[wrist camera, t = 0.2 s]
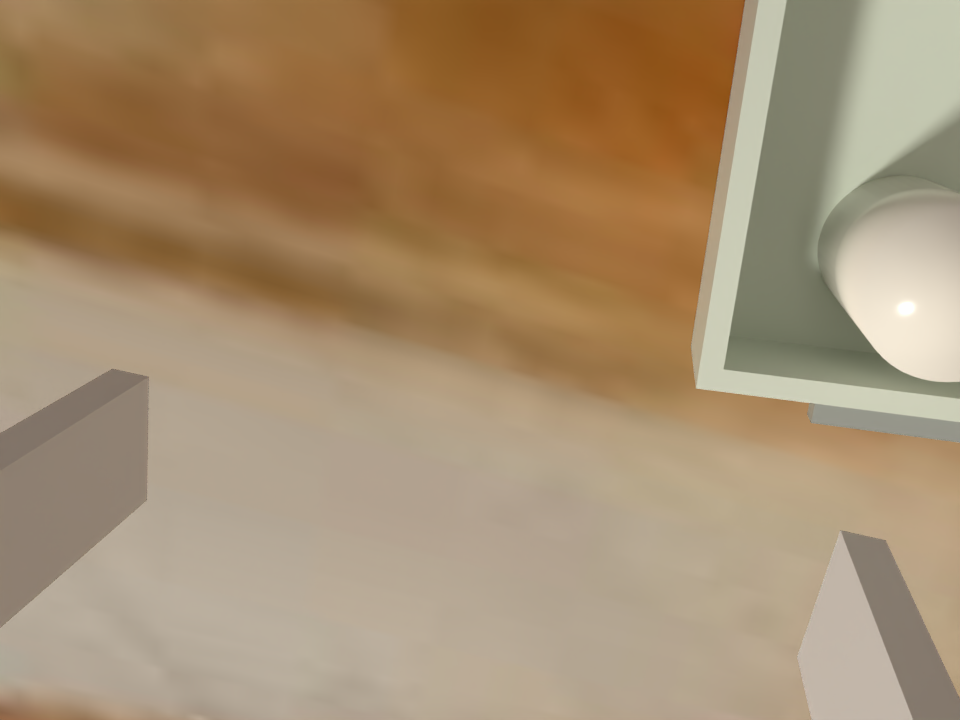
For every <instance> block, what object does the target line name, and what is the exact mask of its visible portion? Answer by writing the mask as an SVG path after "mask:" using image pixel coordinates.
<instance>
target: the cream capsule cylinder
mask: <svg viewBox="0 0 960 720" xmlns="http://www.w3.org/2000/svg"><path fill="white" fill-rule="evenodd" d="M817 258H818V265H819V269H820V272H821V276H822V278H823V280H824V282H825V284H826V285H827V287H828V288H829V290H830V291H831V292H832V294H833V295H834V296H835V298H836V299H837V300H838V302H839V303H840V304H841V305H842V307H843V308H844V309H845V311H846V312H847V313H848V315H849V316H850V317H851V319H852V320H853V321H854V322H855V324H856V325H857V326H858V328H859V329H860V330H861V332H862V333H863V334H864V335H865V337H866V338H867V339H868V341H869V342H870V343H871V345H872V346H873V347H874V349H875V350H876V351H877V352H878V353H879V354H880V355H881V356H882V358H884V359H885V360H886V361H887V362H888V363H890V364H891V365H892V366H894V367H895V368H897V369H899V370H900V371H902V372H904V373H907V374H909V375H911V376H914V377H917V378H920V379H924V380H929V381H935V382H960V193H959V192H956V191H954V190H952V189H949V188H947V187H944V186H942V185H940V184H937V183H935V182H933V181H930V180H928V179H924V178H921V177H916V176H909V175H896V176H887V177H883V178H878V179H875V180H873V181H870V182H867V183H865V184H863V185H861V186H859V187H858V188H856V189H854V190H853V191H851V192H850V193H849V194H847V195H846V196H845V197H844V198H843V199H842V200H841V201H840V202H839V203H838V204H837V205H836V206H835V207H834V208H833V210H832V211H831V212H830V214H829V216H828V217H827V219H826V221H825V223H824V225H823V227H822V230H821V233H820V237H819V240H818V248H817Z"/></svg>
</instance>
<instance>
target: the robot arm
mask: <svg viewBox="0 0 960 720" xmlns="http://www.w3.org/2000/svg"><path fill="white" fill-rule="evenodd" d="M148 389H149V377H147V376H143V375H138V374H134V373H129V372H125V371H120V370H116V369H111V370H109V371H108V372H106V373H104V374H103V375H101V376H99V377H97V378H96V379H94V380H92V381H90V382H89V383H87V384H85V385H83V386H82V387H80V388H78V389H76V390H75V391H73V392H71V393H70V394H68V395H66V396H64V397H63V398H61V399H59V400H57V401H56V402H54V403H52V404H50V405H49V406H47V407H45V408H43V409H42V410H40V411H38V412H36V413H35V414H33V415H31V416H30V417H28V418H26V419H24V420H23V421H21V422H19V423H17V424H16V425H14V426H12V427H10V428H9V429H7V430H5V431H3V432H2V433H0V628H1V627H2V626H3V625H4V624H5V623H6V622H7V621H9V620H10V619H11V618H12V617H13V616H14V615H16V614H17V613H18V612H19V611H20V610H21V609H22V608H24V607H25V606H26V605H27V604H28V603H29V602H30V601H32V600H33V599H34V598H35V597H36V596H37V595H38V594H40V593H41V592H42V591H43V590H44V589H45V588H47V587H48V586H49V585H50V584H51V583H52V582H53V581H55V580H56V579H57V578H58V577H59V576H60V575H61V574H63V573H64V572H65V571H66V570H67V569H68V568H69V567H71V566H72V565H73V564H74V563H75V562H76V561H78V560H79V559H80V558H81V557H82V556H83V555H84V554H86V553H87V552H88V551H89V550H90V549H91V548H92V547H94V546H95V545H96V544H97V543H98V542H99V541H100V540H102V539H103V538H104V537H105V536H106V535H107V534H109V533H110V532H111V531H112V530H113V529H114V528H115V527H117V526H118V525H119V524H120V523H121V522H122V521H123V520H125V519H126V518H127V517H128V516H129V515H130V514H131V513H133V512H134V511H135V510H136V509H137V508H138V507H140V506H141V505H142V504H143V503H144V502H145V501H146V500H147V459H148ZM797 658H798V662H799V667H800V671H801V675H802V680H803V684H804V688H805V693H806V697H807V701H808V706H809V710H810V714H811V719H812V720H960V698H959V696H958V694H957V692H956V690H955V688H954V686H953V683H952V681H951V679H950V677H949V675H948V673H947V671H946V669H945V666H944V664H943V662H942V660H941V658H940V656H939V654H938V651H937V649H936V647H935V645H934V643H933V641H932V639H931V636H930V634H929V632H928V630H927V628H926V626H925V624H924V622H923V619H922V617H921V615H920V613H919V611H918V609H917V607H916V604H915V602H914V600H913V598H912V596H911V594H910V592H909V590H908V587H907V585H906V583H905V581H904V579H903V577H902V575H901V572H900V570H899V568H898V566H897V564H896V562H895V560H894V557H893V555H892V553H891V551H890V549H889V547H888V545H887V543H886V540H882V539H877V538H873V537H868V536H864V535H859V534H855V533H850V532H846V531H841V530H840V533H839V536H838V539H837V542H836V545H835V548H834V551H833V554H832V556H831V559H830V562H829V565H828V568H827V571H826V574H825V577H824V580H823V583H822V586H821V589H820V592H819V595H818V598H817V601H816V603H815V606H814V609H813V612H812V615H811V618H810V621H809V624H808V627H807V630H806V633H805V636H804V639H803V642H802V645H801V647H800V650H799V653H798V656H797Z"/></svg>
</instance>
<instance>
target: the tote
mask: <svg viewBox="0 0 960 720" xmlns="http://www.w3.org/2000/svg"><path fill="white" fill-rule="evenodd" d="M896 175H909V176H916V177H921V178H924V179H928V180H930V181H933V182H935V183H937V184H940V185H942V186H944V187H947V188H949V189H952V190H954V191H956V192H959V193H960V0H745V5H744V11H743V18H742V24H741V31H740V37H739V43H738V50H737V56H736V62H735V69H734V75H733V82H732V88H731V94H730V101H729V107H728V113H727V120H726V126H725V133H724V139H723V145H722V152H721V158H720V165H719V171H718V177H717V184H716V190H715V196H714V203H713V209H712V216H711V222H710V228H709V235H708V241H707V248H706V254H705V260H704V267H703V273H702V279H701V286H700V292H699V299H698V305H697V311H696V318H695V324H694V330H693V337H692V343H691V351H692V359H693V367H694V375H695V384H696V388H697V389H705V390H713V391H721V392H729V393H736V394H744V395H752V396H760V397H767V398H775V399H783V400H791V401H799V402H806V403H809V408H808V413H807V415H808V417H809V419H810V422H811V423H816V424H823V425H831V426H839V427H846V428H854V429H861V430H869V431H876V432H884V433H892V434H899V435H907V436H914V437H922V438H929V439H937V440H945V441H952V442H960V382H935V381H929V380H924V379H920V378H917V377H914V376H911V375H909V374H907V373H904V372H902V371H900V370H899V369H897V368H895V367H894V366H892V365H891V364H890V363H888V362H887V361H886V360H885V359H884V358H882V356H881V355H880V354H879V353H878V352H877V351H876V350H875V349H874V347H873V346H872V345H871V343H870V342H869V341H868V339H867V338H866V337H865V335H864V334H863V333H862V332H861V330H860V329H859V328H858V326H857V325H856V324H855V322H854V321H853V320H852V319H851V317H850V316H849V315H848V313H847V312H846V311H845V309H844V308H843V307H842V305H841V304H840V303H839V302H838V300H837V299H836V298H835V296H834V295H833V294H832V292H831V291H830V290H829V288H828V287H827V285H826V284H825V282H824V280H823V278H822V276H821V272H820V269H819V265H818V258H817V248H818V240H819V237H820V233H821V230H822V227H823V225H824V223H825V221H826V219H827V217H828V216H829V214H830V212H831V211H832V210H833V208H834V207H835V206H836V205H837V204H838V203H839V202H840V201H841V200H842V199H843V198H844V197H845V196H846V195H847V194H849V193H850V192H851V191H853V190H854V189H856V188H858V187H859V186H861V185H863V184H865V183H867V182H870V181H873V180H875V179H878V178H883V177H887V176H896Z"/></svg>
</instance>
